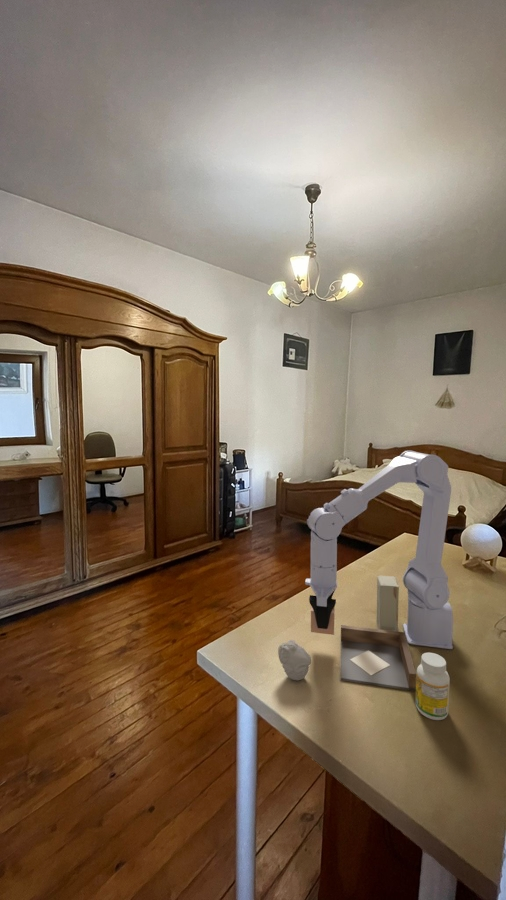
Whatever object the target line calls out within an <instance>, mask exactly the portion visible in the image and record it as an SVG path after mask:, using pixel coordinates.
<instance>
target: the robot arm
mask: <svg viewBox="0 0 506 900" xmlns="http://www.w3.org/2000/svg"><path fill="white" fill-rule="evenodd" d="M448 472H449V465H448V464H447V463H446V462H445V461H444V460H443V459H442V457H440V456H438V455H436V454H428V453H422V452H418V451H414V450H411V449H410V450H404V451H403V452H401V454H400V455H399V456H396V457H394V458H393V459H392V460H391V461H390V463H389V464H388V465H386V466H385V467H384V468H383V469H381V470H380V471H379V472H378V473H376V474H375V475H374V476H373V477H371V478H370V479H368V481H366V482H365V483H363V485H361V486H360V487H359V488H352V487H351V488H348V489H346V488H344V489H342V490H341V491H340V495H338V496H337V497H336V498H334V499H333V500H331V501H330V502H325V503H324V504H323V507H318V508H314V509H313V510H312V511H311V512H310V513H309V514H310V515H308V519H306V523H307V526H308V528H309V529H310V530H311V531H310V578H308V577H307V578H305V583H304V584H305V585H306V586H310V588H311V591H313V593H314V595H312V594H310V595H309V598H308V602H309V605H310V606H311V607H312V608H313V610H314V613H315V618H316V623H317V627H318V628H322V629H327V628H328V625H329V620H330V615H331V612H332V610H333V608H334V607H335V606H336V604H337V599H335V598H333V596H334V593H335V591H336V589H337V588H338V581H337V574H338V573H337V572H338V569H337V567H338V564H337V563H338V562H337V560H338V559H337V558H338V556H337V555H338V544H337V542H338V537H339V535H340V534H341V532H342V528H344V526H345V525H347V524H349V522H351V521H352V520H353V519H355V518H356V517H358V516H359V515H360V514H362V513H363V512H364V511H366V510H367V509H368V503H369V502H370V501H371V500H372V499H374V498H376V497H378V496H379V495H381V494H382V493H383V492H386V491H387V490H389V489H391V488H392V487H394V486H395V485H397V484H399V483H405V484H406V483H407V484H408V483H410V484H413V483H414V484H415V485H416V486H417V487H418V488H419V489H420V490H421V491H422V493H423V497H422V498H423V499H422V504H421V512H420V513H421V514H420V521H419V529H418V534H417V535H418V536H417V544H416V549H415V550H416V551H415V557H414V558H413V559H411V560H409V561H408V565H407V568H406V571H405V572H404V574H403V576H402V583H403V586H404V588H406V590H407V618H406V619H407V620H406V621H407V622H406V623H403V625H402V626H403V630H404V631H403V632H405V636H406V640H407V643H408V645H414V646H422V647H428V648H429V647H431V648H438V649H446V650H453V648H454V646H453V633H454V630H453V629H454V615H453V614H454V613H453V608H452V606H451V603H450V602H449V598H450V595H451V594H450V589H449V586H448V580H449V577H448V574H446V571H445V568H444V567H443V565H442V560H443V559H442V558H443V553H444V546H445V539H446V531H447V524H448V523H447V522H448V516H449V508H450V502H451V496H452V495H451V494H452V484H451V482H450V479H449V476H448Z"/></svg>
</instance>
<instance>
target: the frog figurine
mask: <svg viewBox="0 0 506 900" xmlns="http://www.w3.org/2000/svg"><path fill="white" fill-rule="evenodd" d="M277 651H278V652H277V654H278V660H279V662H280V664H282V668H283V671H284V673H285V675H286V676H287V677H288V678H289V679H291V680H293V681H301V680H303V679H304V678H306V677H307V675H308V672H309V670H310V669H309V667H310V665H312V658H311V655H310V654H309V653H308V652H307V650H306V649H305V648H304V647H303V646H301V645H300V644H298V643H297V642H296V640H293V639H290V640H287V642H284V643H281V644H280V645H279V646H278V649H277Z"/></svg>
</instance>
